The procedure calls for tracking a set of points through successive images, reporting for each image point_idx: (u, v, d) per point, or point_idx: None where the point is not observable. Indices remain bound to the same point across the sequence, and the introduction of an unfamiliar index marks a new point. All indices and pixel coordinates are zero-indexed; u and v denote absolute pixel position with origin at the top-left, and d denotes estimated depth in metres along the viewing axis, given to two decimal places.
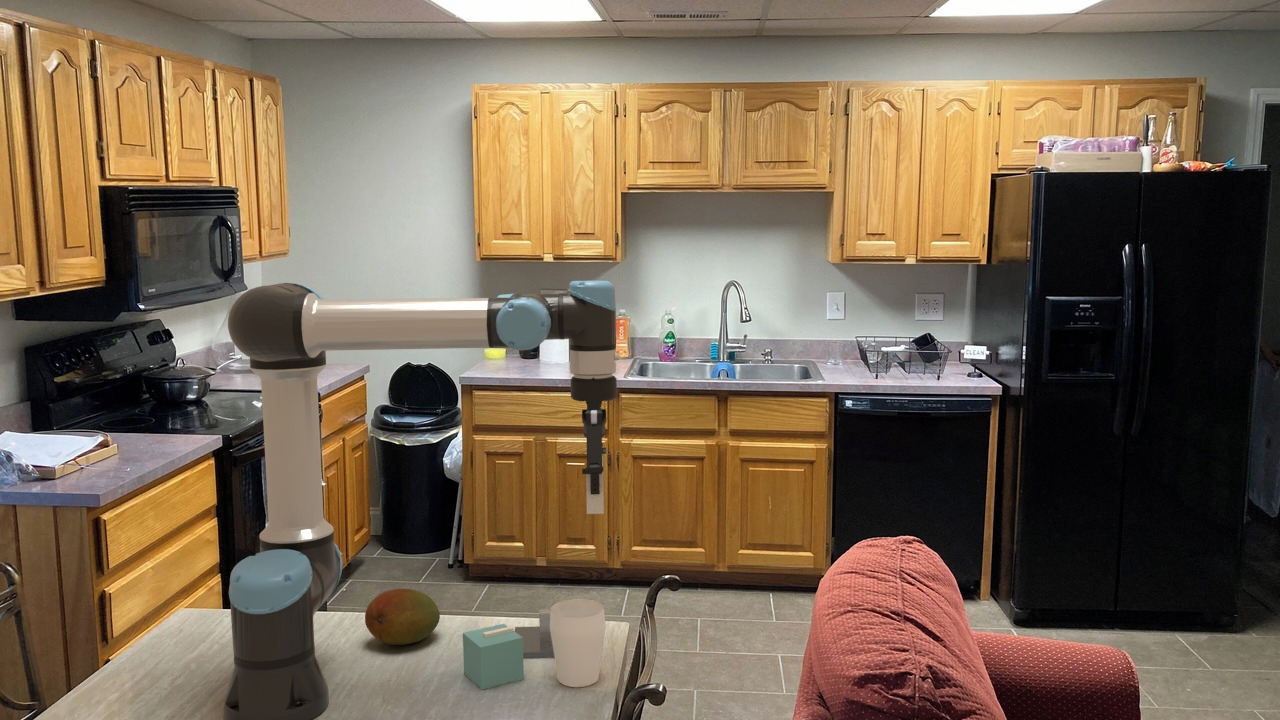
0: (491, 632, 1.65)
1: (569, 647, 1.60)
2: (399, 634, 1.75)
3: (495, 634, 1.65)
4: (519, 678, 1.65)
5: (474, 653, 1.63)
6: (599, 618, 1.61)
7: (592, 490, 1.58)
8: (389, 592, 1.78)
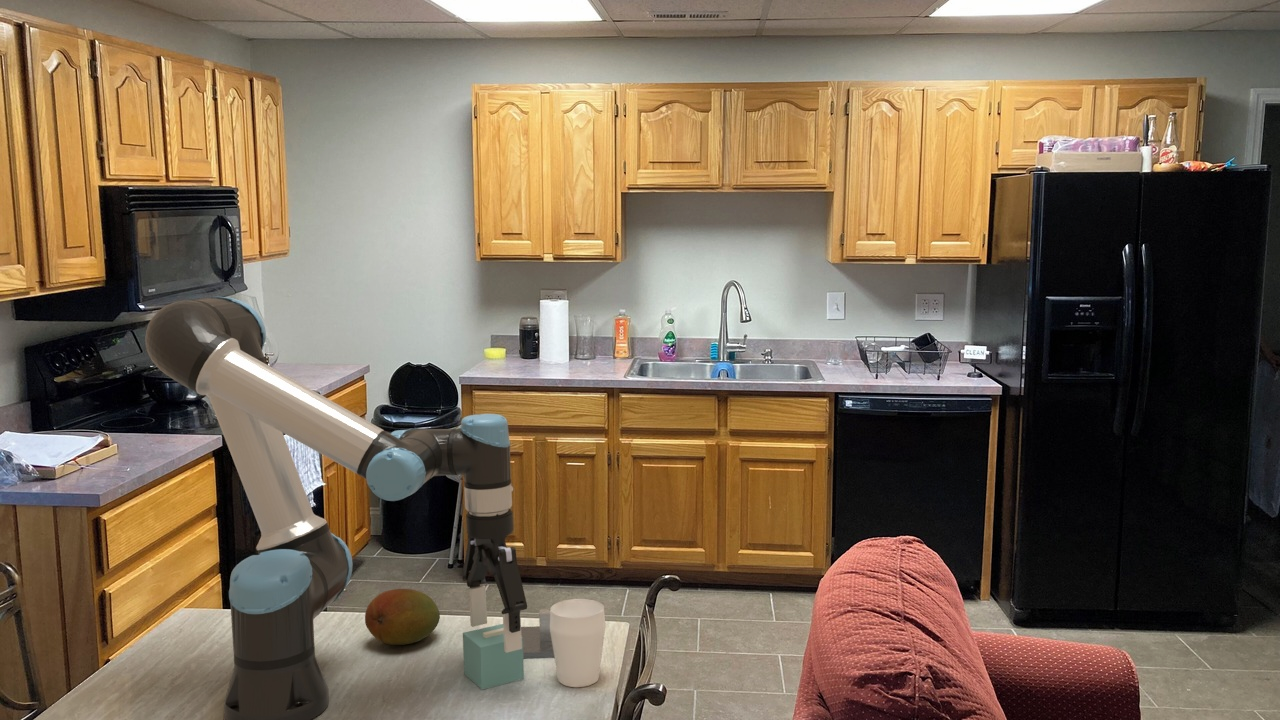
0: (491, 632, 1.65)
1: (569, 647, 1.60)
2: (399, 634, 1.75)
3: (495, 634, 1.65)
4: (519, 678, 1.65)
5: (474, 653, 1.63)
6: (599, 618, 1.61)
7: (514, 628, 1.58)
8: (389, 592, 1.78)
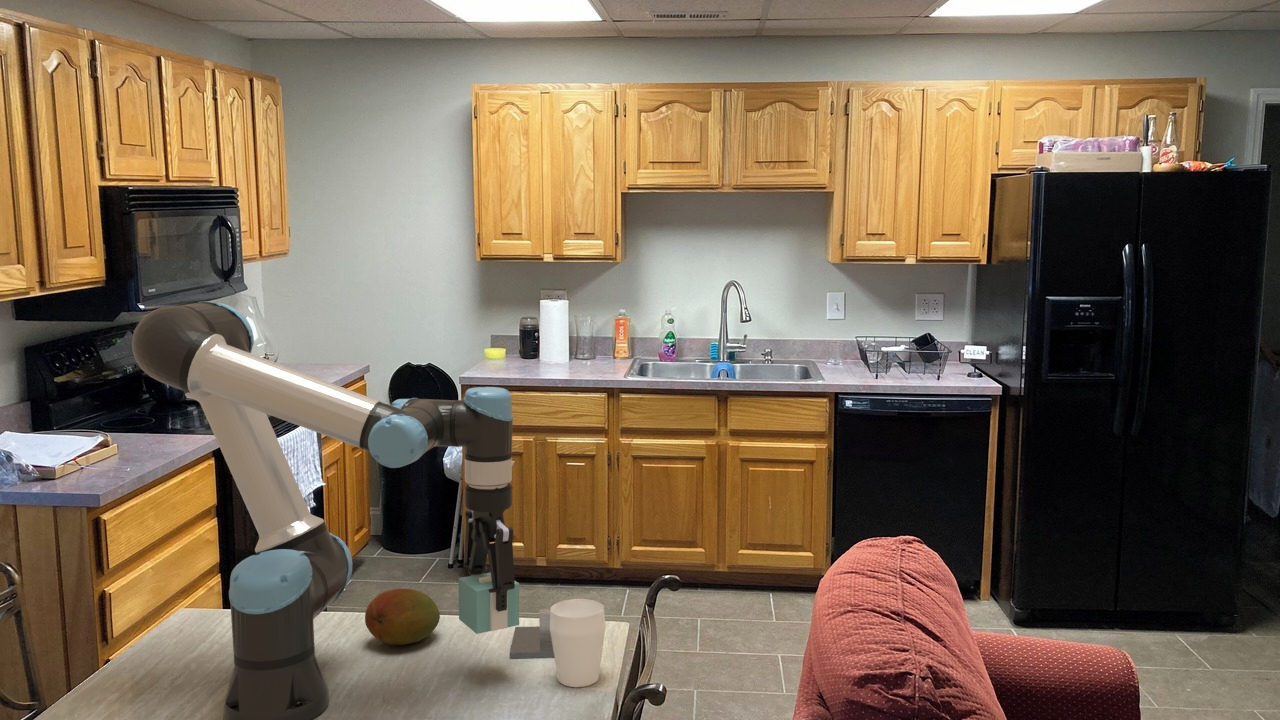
0: (487, 577, 1.64)
1: (569, 647, 1.60)
2: (399, 634, 1.75)
3: (491, 580, 1.64)
4: (514, 624, 1.64)
5: (470, 597, 1.62)
6: (599, 618, 1.61)
7: (500, 607, 1.60)
8: (389, 592, 1.78)
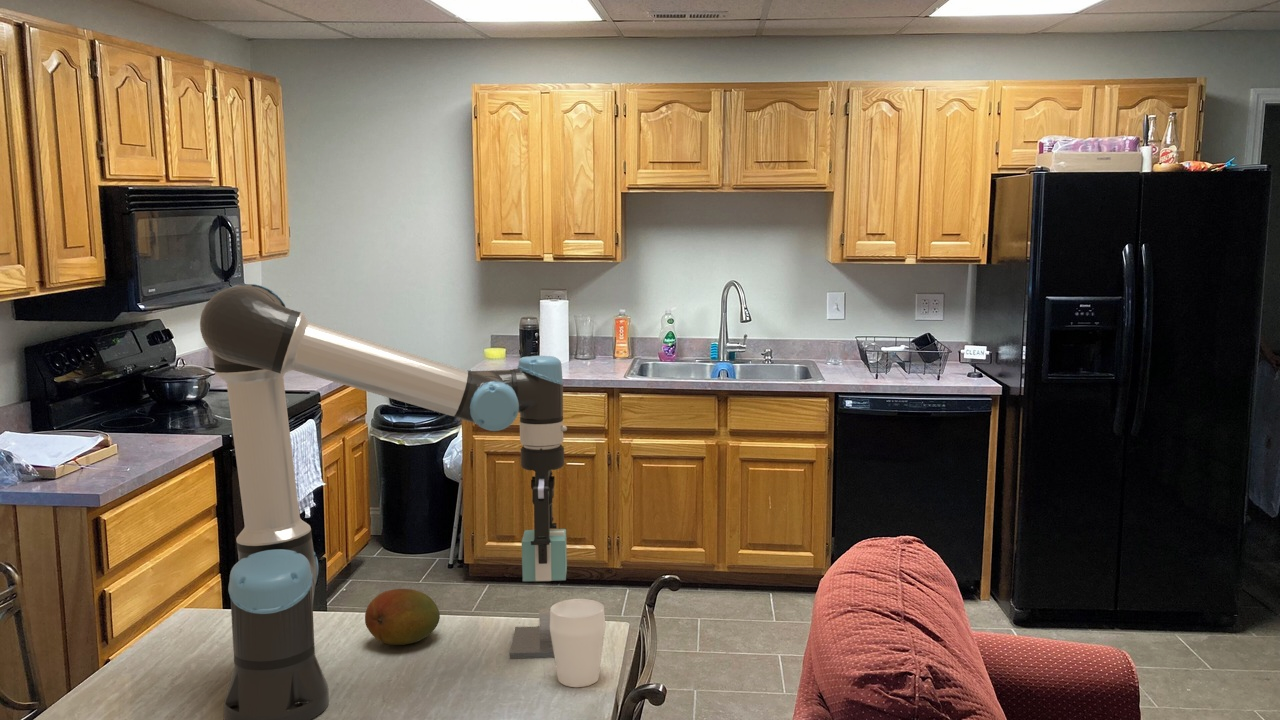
0: None
1: (569, 647, 1.60)
2: (399, 634, 1.75)
3: None
4: (561, 578, 1.74)
5: None
6: (599, 618, 1.61)
7: (540, 560, 1.72)
8: (389, 592, 1.78)
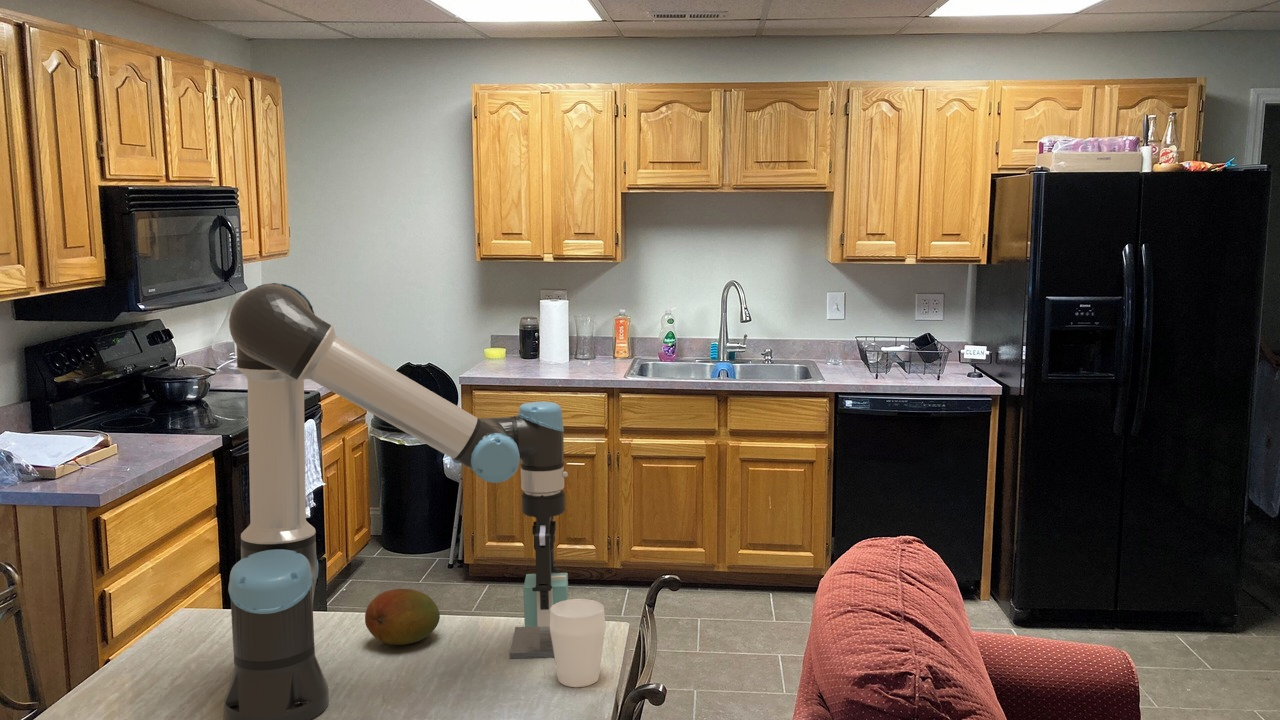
0: None
1: (569, 647, 1.60)
2: (399, 634, 1.75)
3: None
4: None
5: None
6: (599, 618, 1.61)
7: (542, 606, 1.73)
8: (389, 592, 1.78)
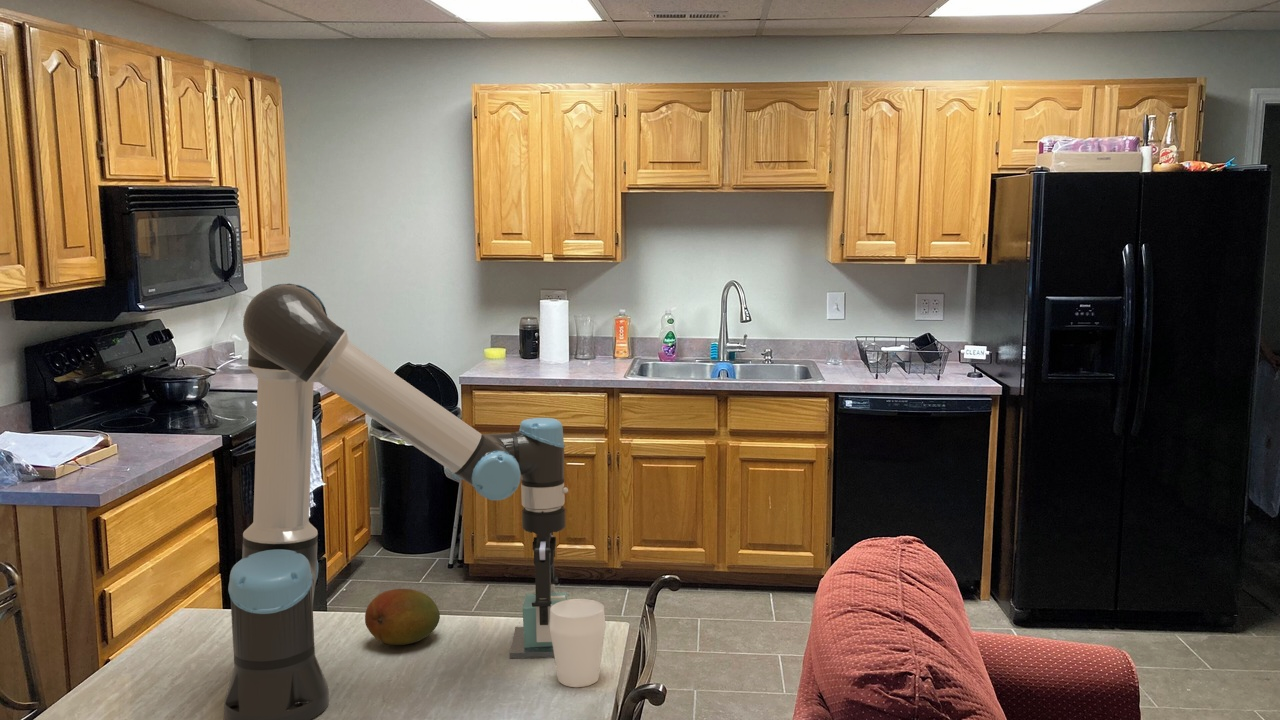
0: None
1: (569, 647, 1.60)
2: (400, 634, 1.75)
3: None
4: None
5: None
6: (599, 618, 1.61)
7: (541, 621, 1.72)
8: (389, 592, 1.78)
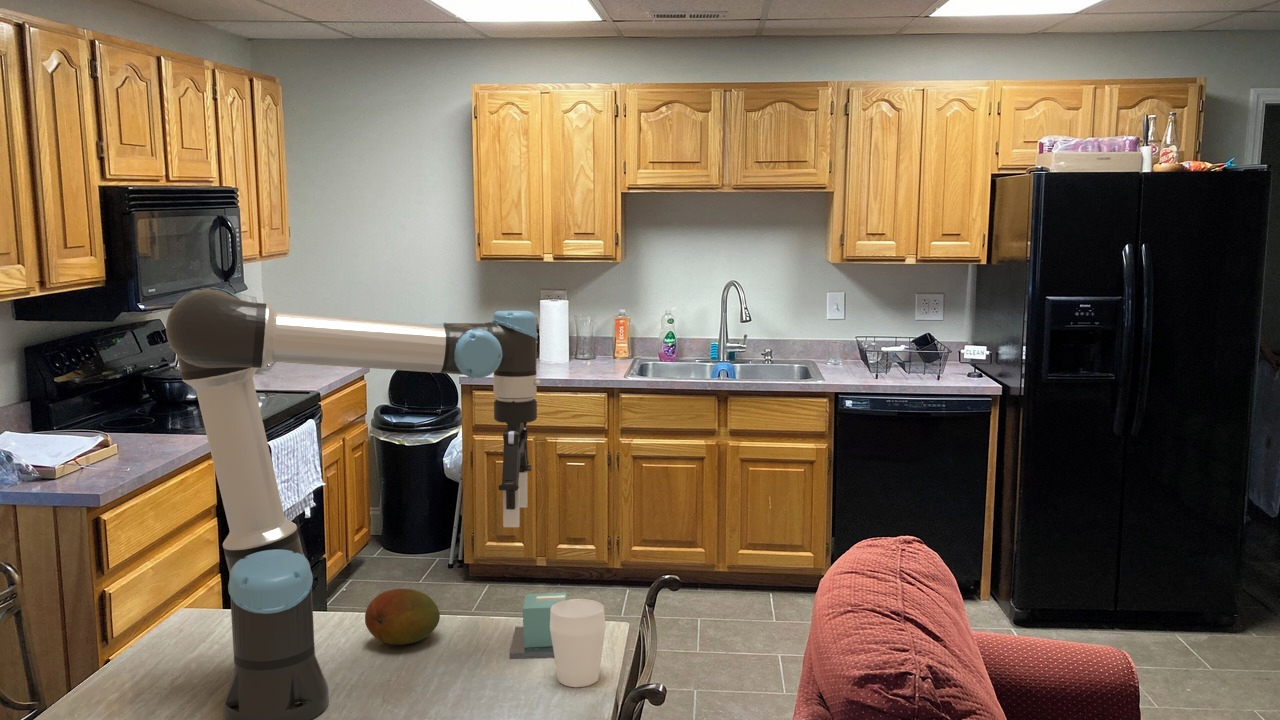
0: (543, 597, 1.78)
1: (569, 647, 1.60)
2: (399, 634, 1.75)
3: (546, 600, 1.78)
4: None
5: None
6: (599, 618, 1.61)
7: (508, 505, 1.71)
8: (389, 592, 1.78)
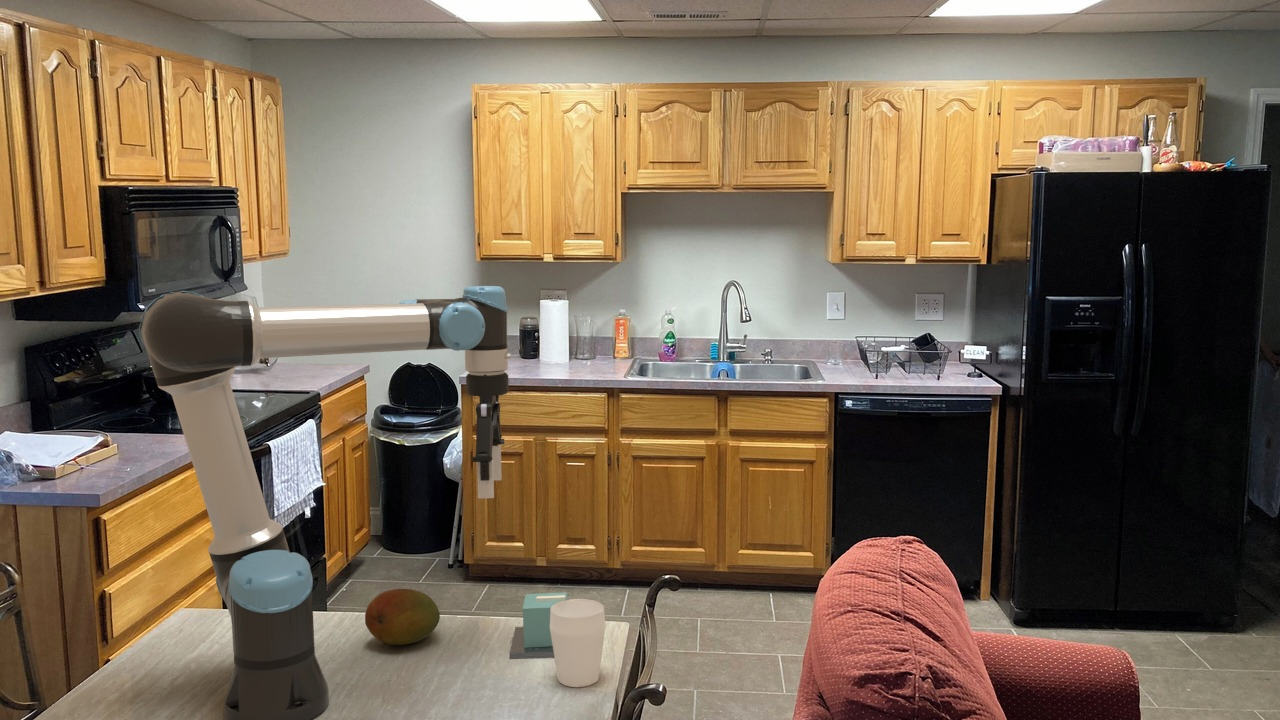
0: (543, 597, 1.78)
1: (569, 647, 1.60)
2: (400, 634, 1.75)
3: (546, 600, 1.78)
4: None
5: None
6: (599, 618, 1.61)
7: (482, 476, 1.74)
8: (389, 592, 1.78)
